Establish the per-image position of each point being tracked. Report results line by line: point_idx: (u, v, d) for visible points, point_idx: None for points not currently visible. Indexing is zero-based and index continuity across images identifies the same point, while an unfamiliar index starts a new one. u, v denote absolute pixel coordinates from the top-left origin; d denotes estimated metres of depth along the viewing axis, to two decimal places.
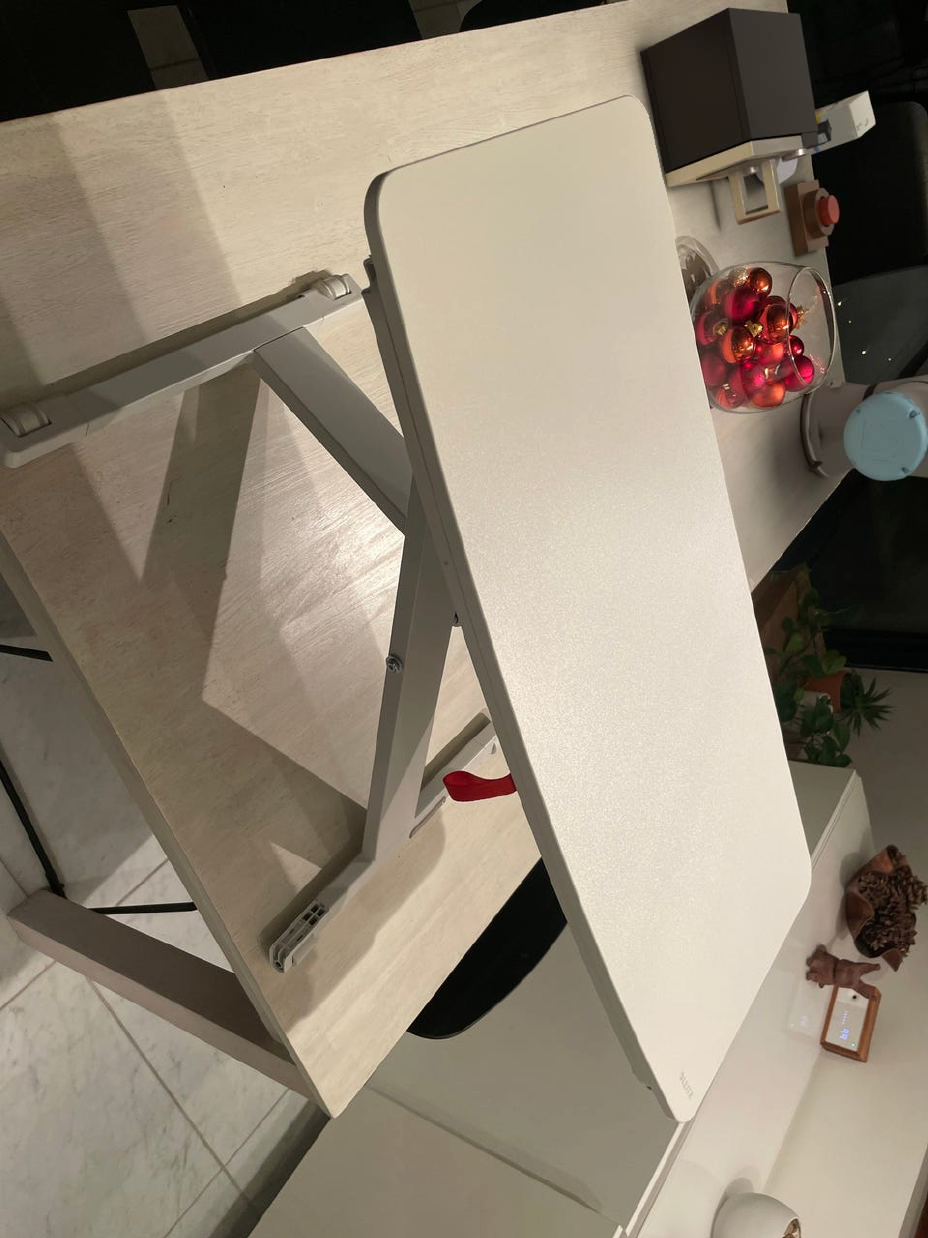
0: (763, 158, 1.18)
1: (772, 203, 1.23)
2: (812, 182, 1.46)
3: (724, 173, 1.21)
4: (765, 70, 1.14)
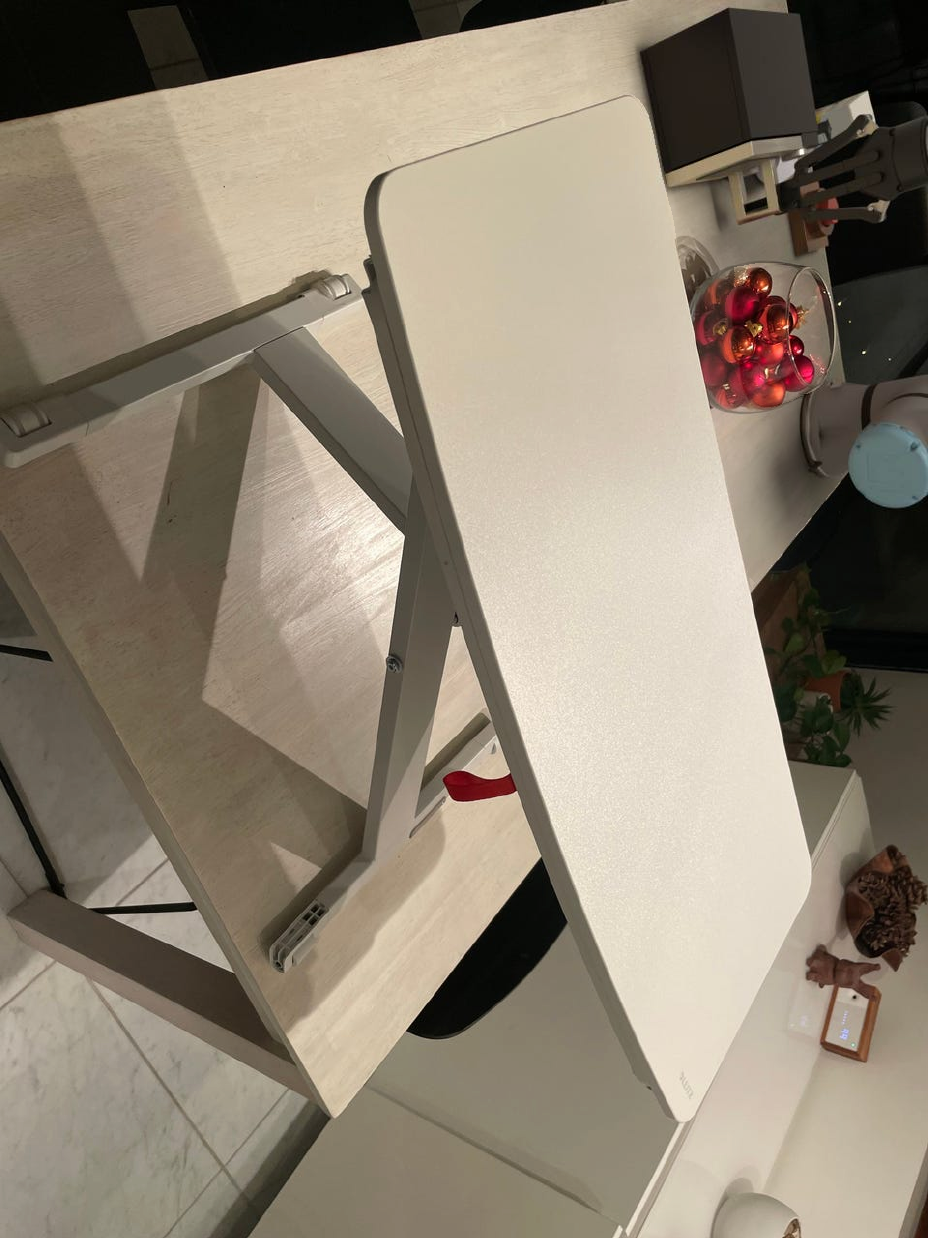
0: (763, 158, 1.18)
1: (772, 203, 1.23)
2: None
3: (724, 173, 1.21)
4: (765, 70, 1.14)
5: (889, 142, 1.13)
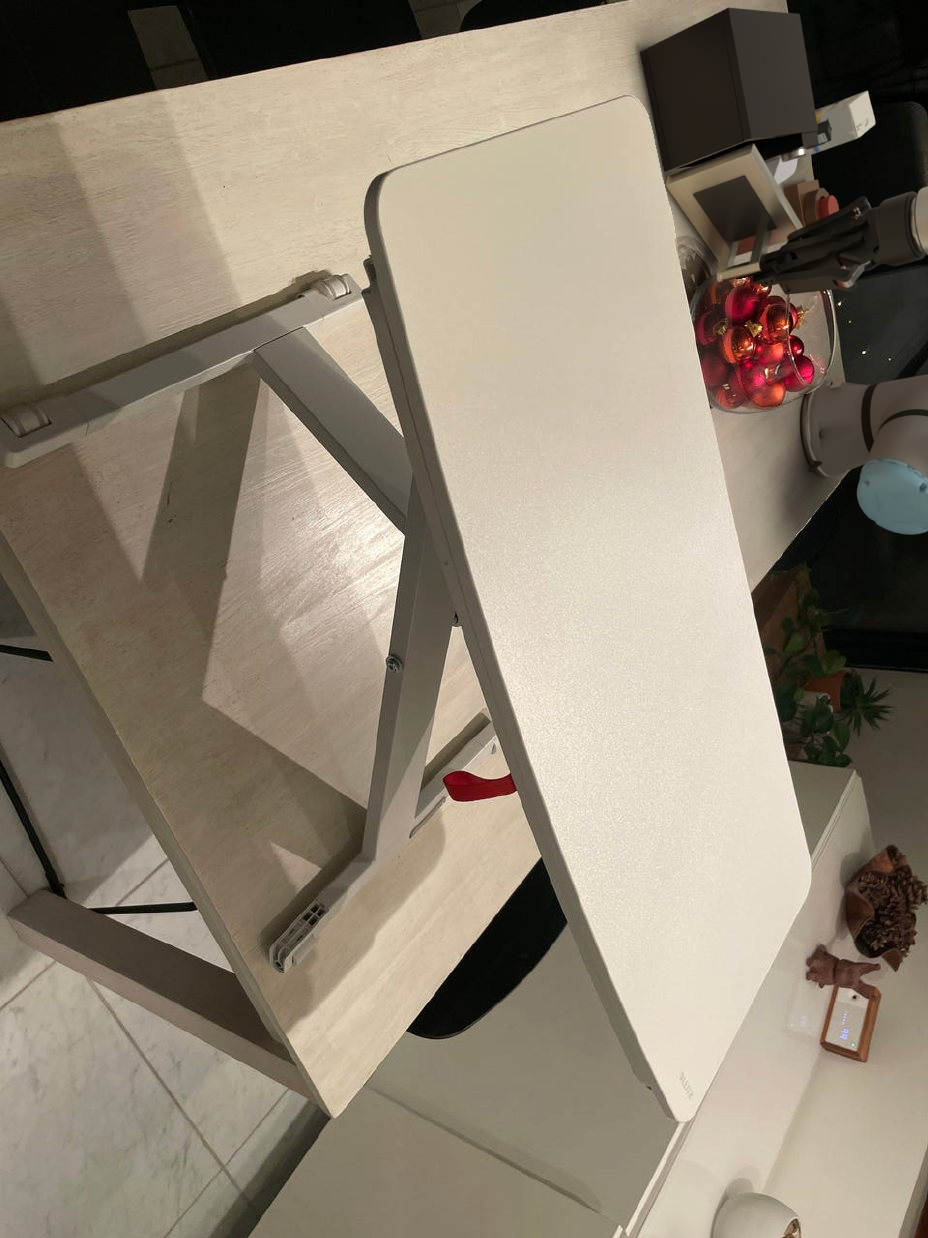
0: (760, 202, 1.17)
1: (754, 258, 1.19)
2: (812, 182, 1.46)
3: (721, 213, 1.21)
4: (765, 70, 1.14)
5: None
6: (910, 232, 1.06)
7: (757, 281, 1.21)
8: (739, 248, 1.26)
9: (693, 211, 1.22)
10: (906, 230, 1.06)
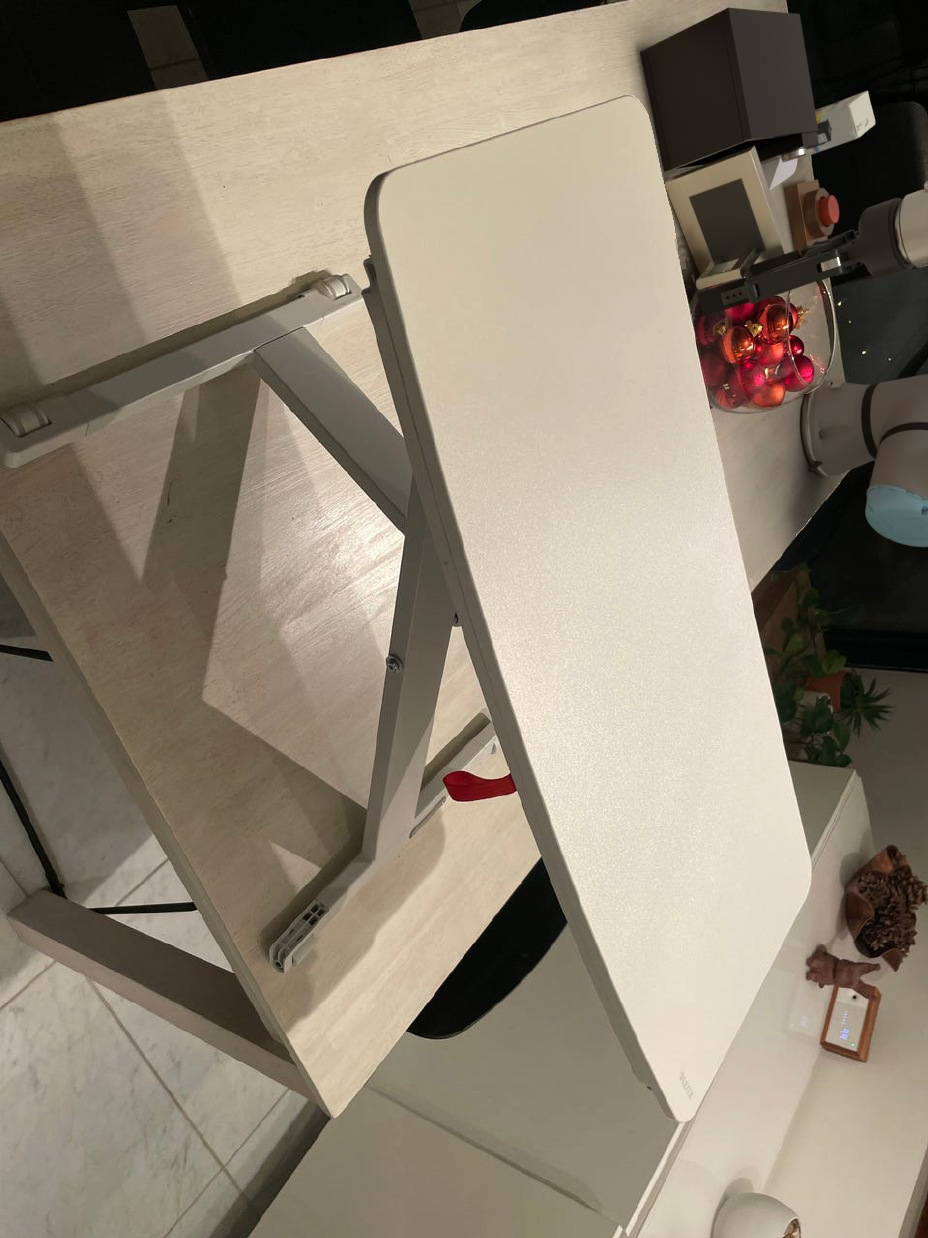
0: (753, 214, 1.16)
1: (736, 265, 1.16)
2: (812, 182, 1.46)
3: (713, 224, 1.19)
4: (765, 70, 1.14)
5: None
6: (892, 222, 0.98)
7: (725, 292, 1.07)
8: None
9: (687, 219, 1.21)
10: (888, 219, 0.98)
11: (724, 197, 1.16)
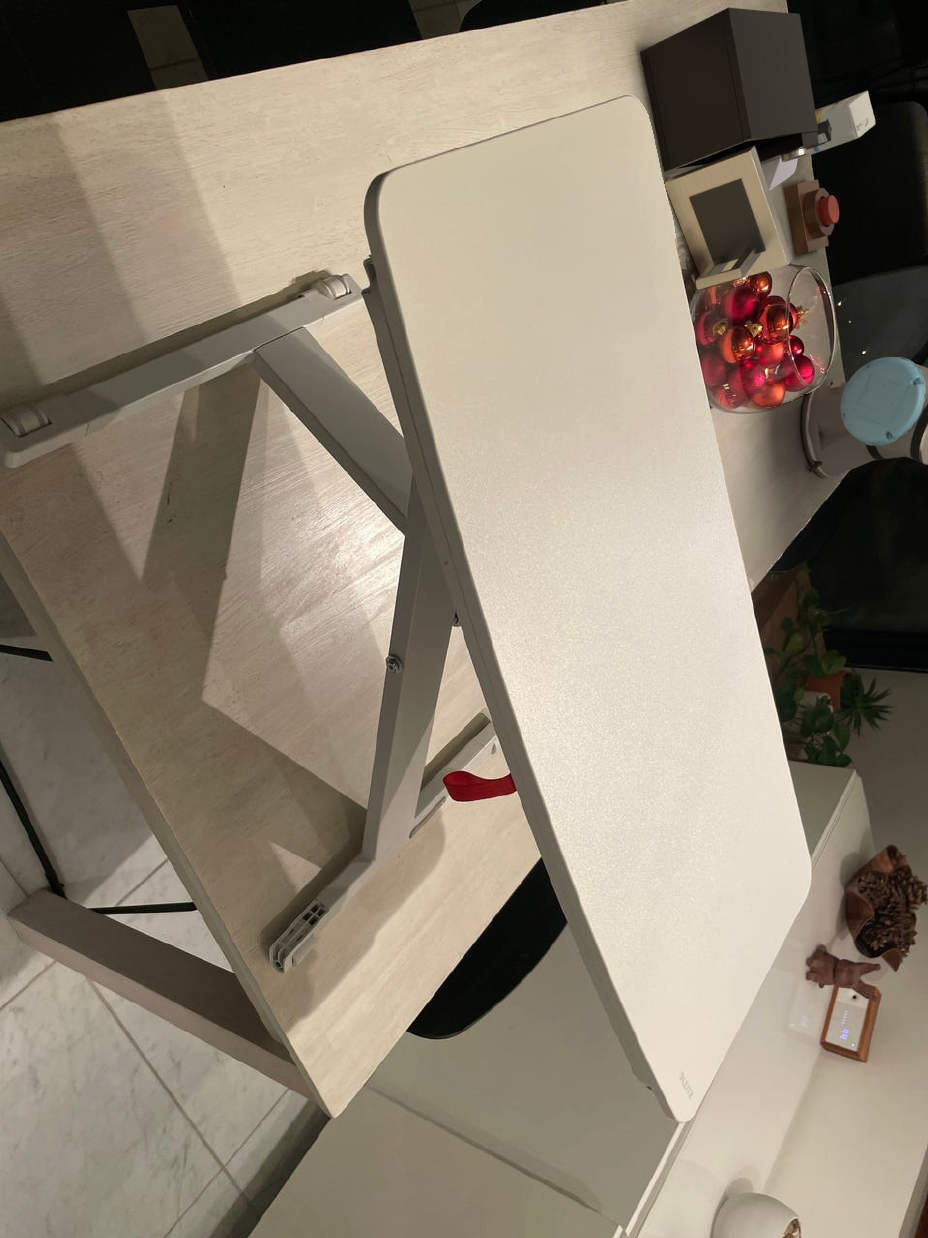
0: (753, 214, 1.16)
1: (736, 265, 1.16)
2: (812, 182, 1.46)
3: (713, 224, 1.19)
4: (765, 70, 1.14)
5: None
6: None
7: None
8: None
9: (687, 219, 1.21)
10: None
11: (724, 197, 1.16)
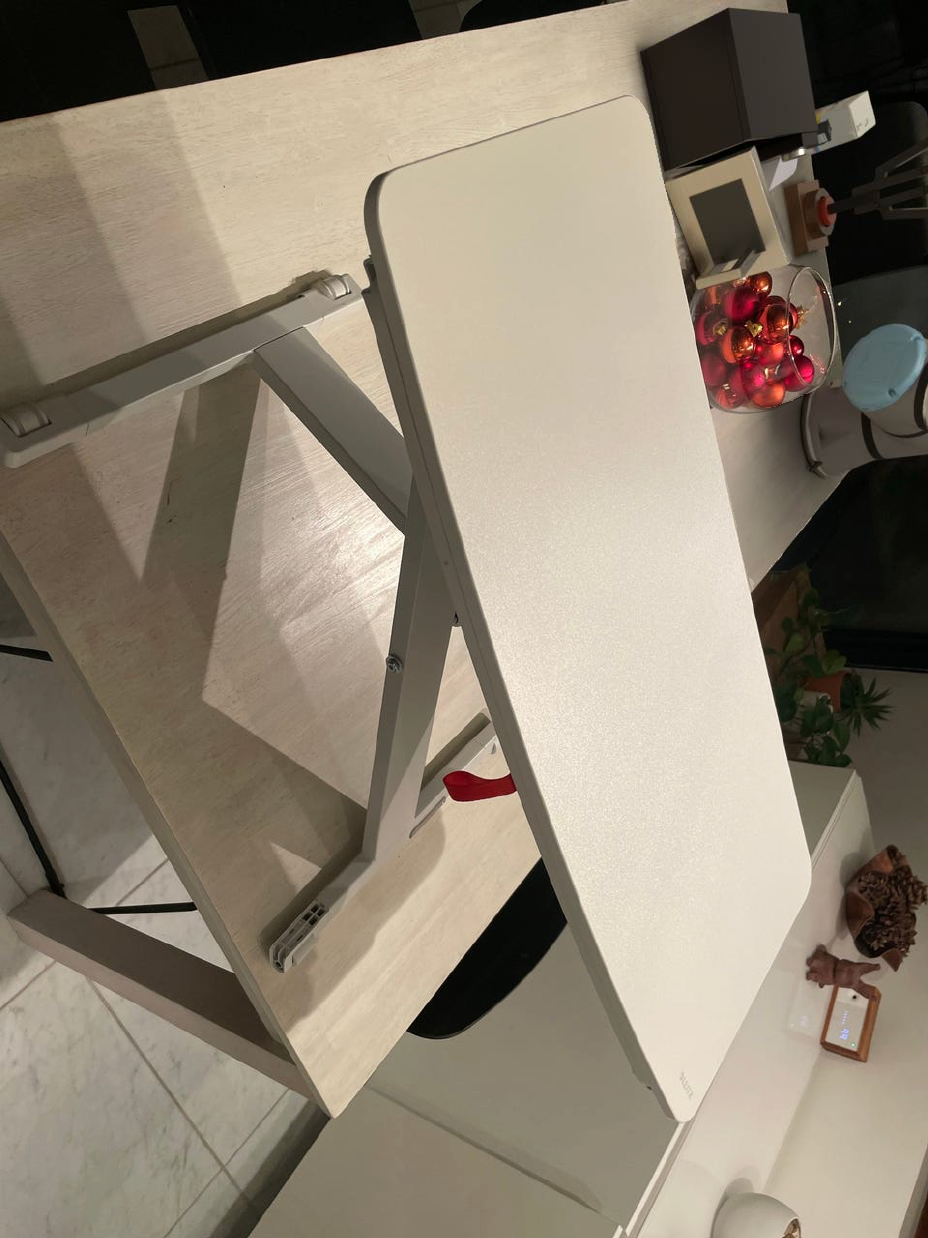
0: (753, 214, 1.16)
1: (736, 265, 1.16)
2: (812, 182, 1.46)
3: (713, 224, 1.19)
4: (765, 70, 1.14)
5: None
6: None
7: (860, 213, 1.41)
8: None
9: (687, 219, 1.21)
10: None
11: (724, 197, 1.16)
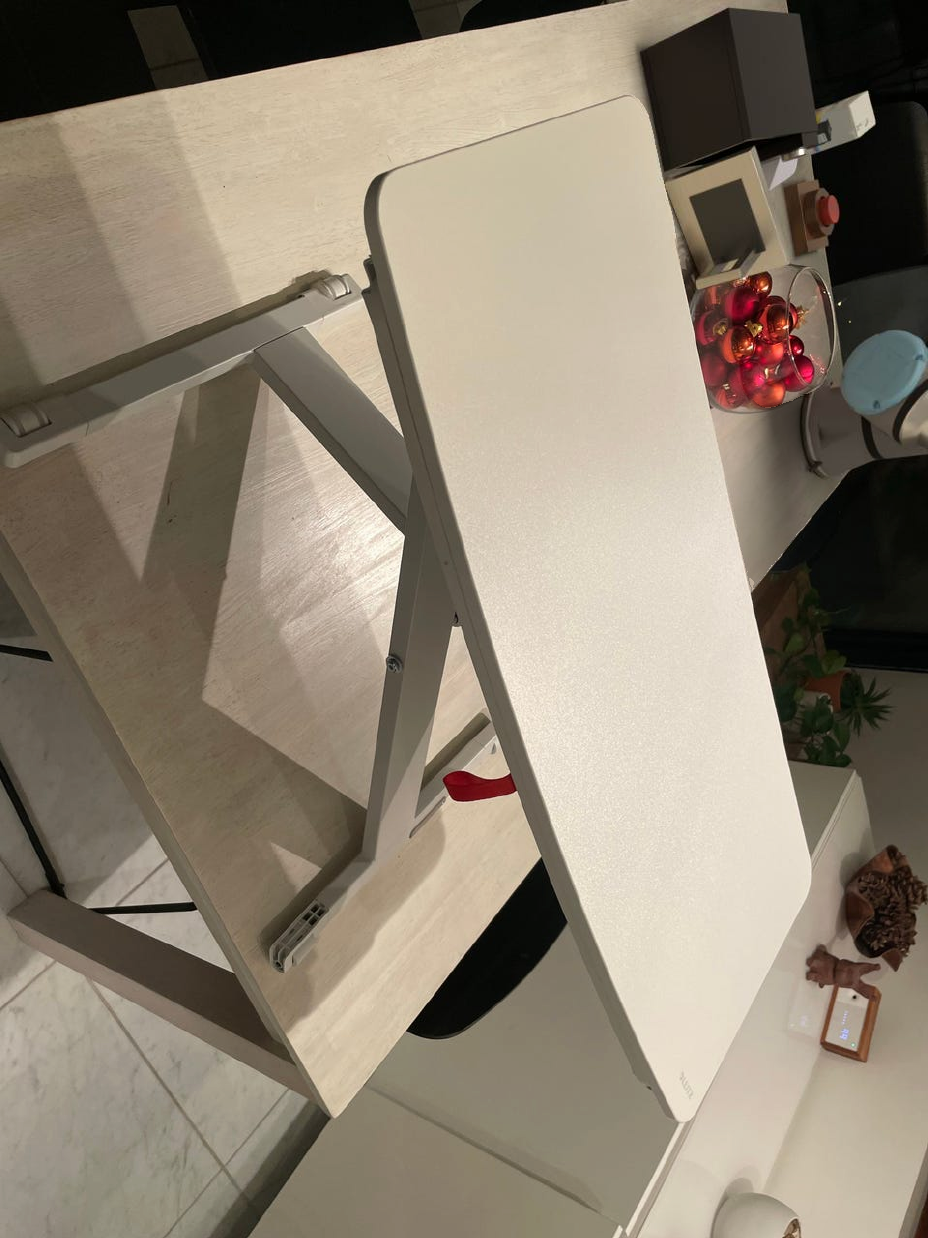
0: (753, 214, 1.16)
1: (736, 265, 1.16)
2: (812, 182, 1.46)
3: (713, 224, 1.19)
4: (765, 70, 1.14)
5: None
6: None
7: None
8: None
9: (687, 219, 1.21)
10: None
11: (724, 197, 1.16)
